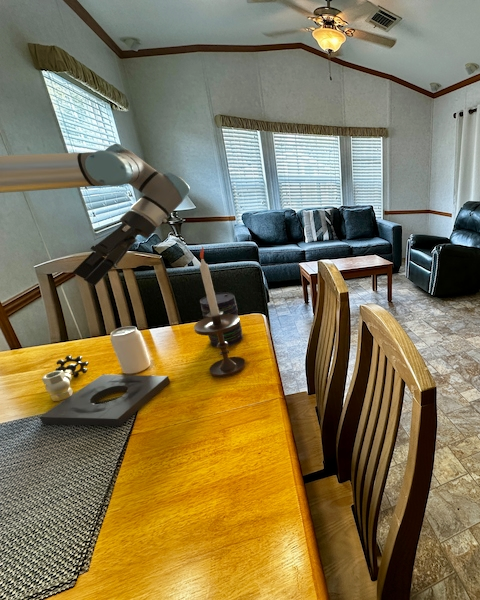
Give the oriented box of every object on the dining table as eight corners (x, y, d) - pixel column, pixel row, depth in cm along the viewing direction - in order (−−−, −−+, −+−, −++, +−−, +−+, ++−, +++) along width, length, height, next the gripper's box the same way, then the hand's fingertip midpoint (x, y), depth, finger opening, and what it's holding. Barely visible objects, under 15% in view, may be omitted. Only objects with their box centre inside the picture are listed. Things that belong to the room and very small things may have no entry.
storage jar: (220, 350, 102) (210, 306, 96) (204, 342, 107) (192, 300, 101) (249, 337, 109) (241, 296, 104) (232, 330, 114) (223, 290, 109)
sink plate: (42, 424, 73) (38, 416, 72) (105, 380, 88) (102, 374, 87) (120, 426, 72) (117, 419, 71) (170, 382, 87) (168, 375, 86)
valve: (77, 397, 81) (93, 372, 91) (67, 375, 79) (84, 352, 89) (41, 405, 78) (61, 379, 88) (29, 383, 76) (51, 358, 86)
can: (139, 374, 90) (125, 336, 85) (116, 374, 90) (101, 336, 86) (156, 361, 96) (144, 325, 91) (134, 361, 96) (121, 325, 92)
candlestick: (250, 355, 99) (227, 240, 86) (246, 375, 90) (219, 249, 77) (210, 361, 96) (180, 243, 83) (202, 382, 87) (166, 253, 73)
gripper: (156, 215, 83) (92, 282, 75) (158, 237, 103) (107, 292, 95) (125, 194, 80) (54, 262, 72) (132, 222, 100) (78, 277, 92)
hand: (84, 279), depth 84 cm, fingers open, 13 cm apart
